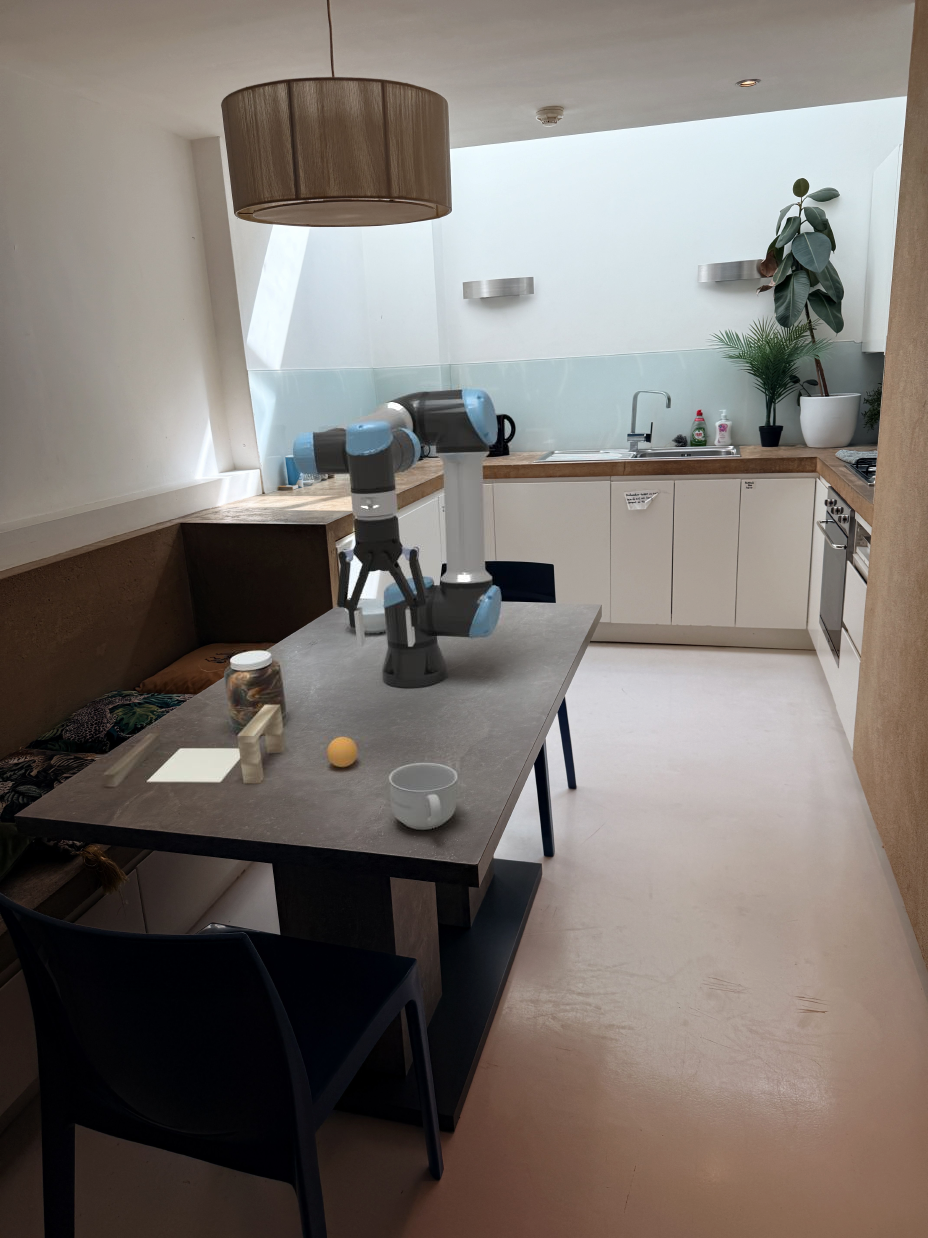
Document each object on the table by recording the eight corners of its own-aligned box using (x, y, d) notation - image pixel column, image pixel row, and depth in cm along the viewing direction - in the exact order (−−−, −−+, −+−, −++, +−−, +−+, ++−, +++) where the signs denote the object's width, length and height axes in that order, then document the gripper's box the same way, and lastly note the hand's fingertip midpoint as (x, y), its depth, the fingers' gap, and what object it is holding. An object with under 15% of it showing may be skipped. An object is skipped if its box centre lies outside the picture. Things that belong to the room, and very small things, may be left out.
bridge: (285, 748, 169) (280, 704, 166) (259, 783, 155) (253, 735, 153) (270, 748, 169) (265, 704, 167) (243, 783, 156) (237, 736, 153)
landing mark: (248, 749, 170) (248, 748, 170) (220, 782, 156) (220, 781, 156) (180, 749, 172) (180, 748, 172) (146, 782, 158) (146, 781, 158)
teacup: (392, 807, 144) (388, 763, 142) (457, 801, 145) (454, 757, 143) (392, 851, 131) (388, 803, 129) (464, 844, 131) (461, 797, 129)
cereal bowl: (403, 637, 235) (401, 612, 233) (342, 640, 236) (339, 615, 234) (408, 619, 252) (406, 596, 250) (351, 622, 252) (348, 599, 250)
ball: (361, 759, 163) (359, 732, 161) (354, 772, 157) (351, 744, 156) (333, 759, 163) (330, 732, 162) (325, 772, 158) (322, 744, 156)
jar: (226, 721, 185) (217, 654, 180) (281, 710, 189) (273, 644, 185) (235, 741, 174) (225, 670, 170) (293, 729, 178) (285, 660, 174)
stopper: (160, 745, 174) (158, 733, 173) (115, 787, 157) (113, 774, 156) (151, 745, 174) (149, 733, 174) (105, 787, 157) (102, 774, 157)
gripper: (308, 522, 144) (322, 652, 150) (434, 517, 141) (442, 650, 147) (320, 514, 151) (333, 638, 157) (440, 510, 148) (449, 637, 155)
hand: (386, 644), depth 152 cm, fingers open, 8 cm apart
